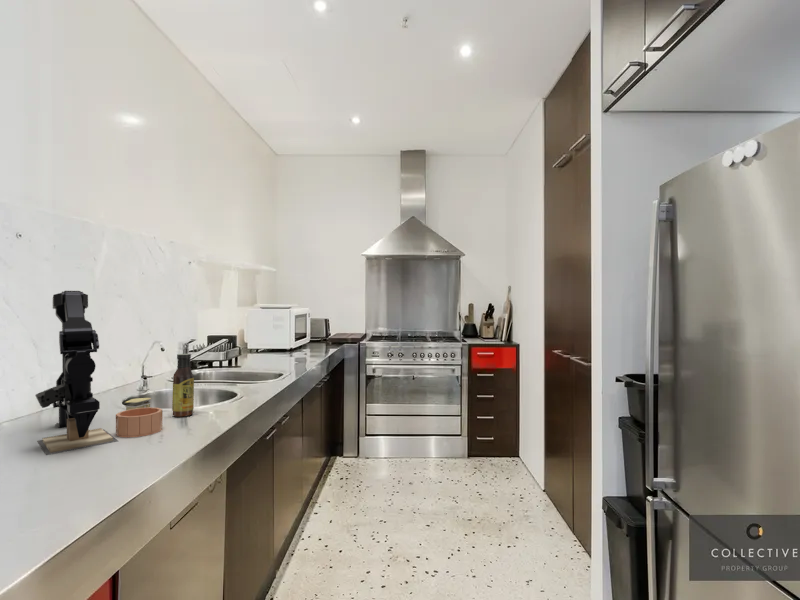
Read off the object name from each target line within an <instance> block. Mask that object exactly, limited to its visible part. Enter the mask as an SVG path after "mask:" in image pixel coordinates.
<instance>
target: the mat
mask: <svg viewBox="0 0 800 600" xmlns="http://www.w3.org/2000/svg"><path fill="white" fill-rule="evenodd" d="M102 429H103V428H102ZM103 430H104V431H105V432H106V433H108V434H109V435H110V436H111V437H113V441H109V442H104V443H99V444H93V445H88V446H83V447H78V448H73V449H67V450H62V451H57V452H52V453H50V451H49V450H48V448H47V447H46V446H45V444H44V443H43V441H42V439H41V440H40V439H39V440H36V442H37V444H38V445H39V446H40V448H41V450H42V451H43V452H44V454H45V456H50V455H55V454H56V455H57V454H60V453H64V452H65V453H66V452H71V451H75V450H77V451H78V450H82V449H85V448H92V447H96V446H102V445H107V444H112V443H117V442H119V440H118V439H116V437H114V436H113V435H112V434H110V433H109V432H108V431H107V430H106V429H103Z"/></svg>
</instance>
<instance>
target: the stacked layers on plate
mask: <svg viewBox="0 0 800 600" xmlns="http://www.w3.org/2000/svg"><path fill="white" fill-rule="evenodd" d="M151 399H152V398H151V397H143V398H142V397H141V398H139V397H136V398H131V399H129V400H127V401H125V403H129V404H127V405H125V406H124V408H126V409H125V410H130V409H136V408H148V407H151V404H152V402H151V401H149V400H151Z"/></svg>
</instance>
